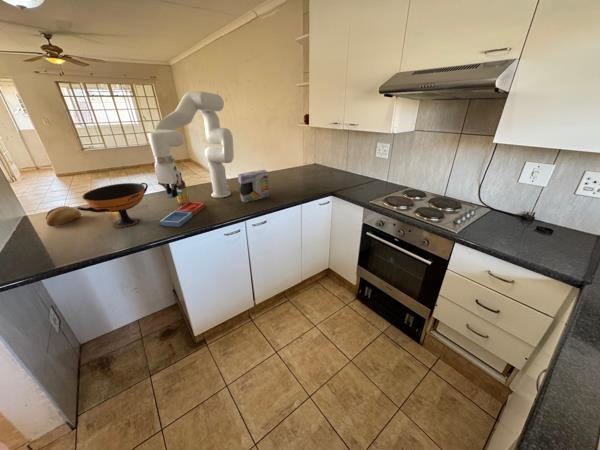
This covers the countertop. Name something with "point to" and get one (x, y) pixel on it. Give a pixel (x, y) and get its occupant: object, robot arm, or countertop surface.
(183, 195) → the sauce bottle
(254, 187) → the cake pan box
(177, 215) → the blue tray
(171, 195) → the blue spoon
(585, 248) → the countertop surface
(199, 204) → the red tray
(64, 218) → the bread roll
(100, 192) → the cup
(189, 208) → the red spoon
